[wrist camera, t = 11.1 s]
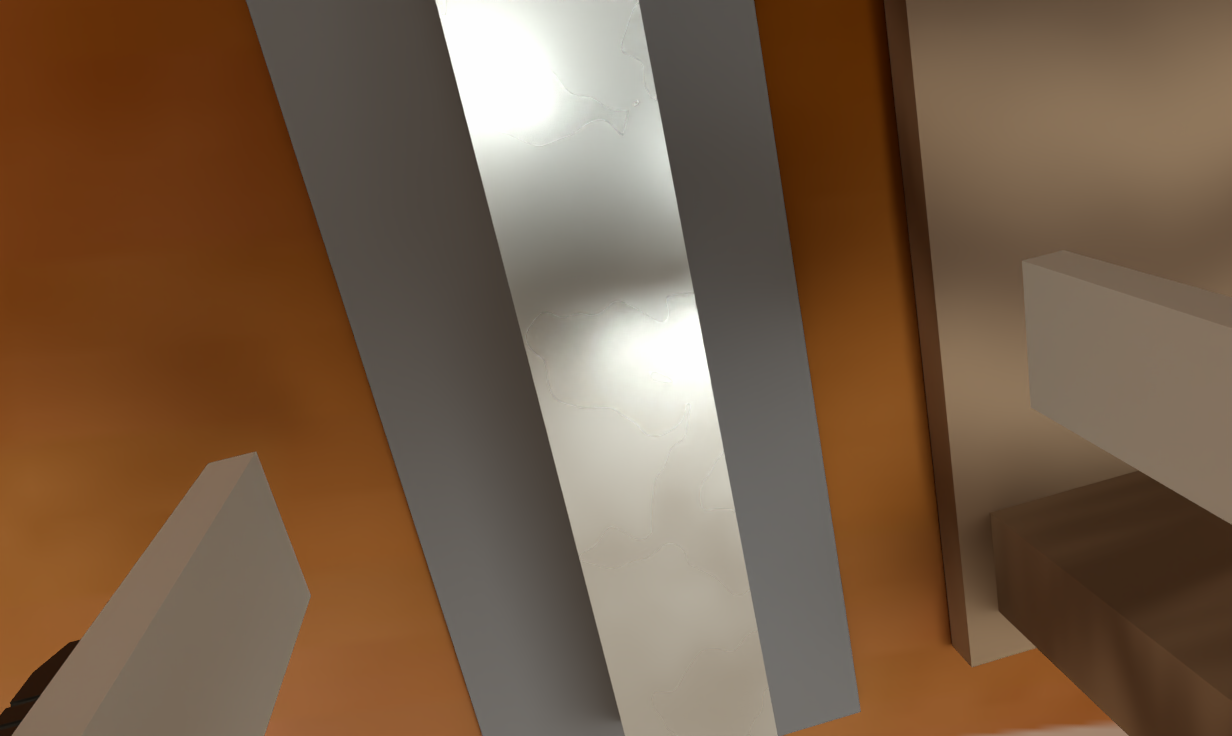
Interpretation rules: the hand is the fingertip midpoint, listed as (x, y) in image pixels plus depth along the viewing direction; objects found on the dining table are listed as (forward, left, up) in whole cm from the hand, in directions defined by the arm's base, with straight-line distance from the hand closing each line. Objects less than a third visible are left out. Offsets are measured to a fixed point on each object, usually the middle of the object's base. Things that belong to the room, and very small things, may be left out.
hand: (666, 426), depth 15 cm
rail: (0, 0, -6) cm, 6 cm away
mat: (0, 0, -6) cm, 6 cm away
